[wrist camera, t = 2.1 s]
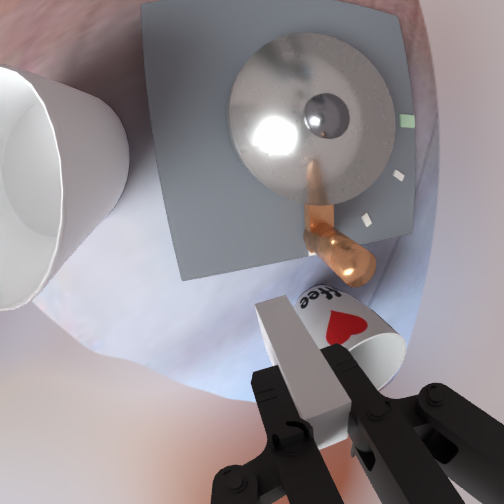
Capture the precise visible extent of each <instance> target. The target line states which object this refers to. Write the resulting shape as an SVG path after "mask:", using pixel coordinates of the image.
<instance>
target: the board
mask: <svg viewBox="0 0 504 504" xmlns="http://www.w3.org/2000/svg"><path fill="white" fill-rule="evenodd" d="M141 22H142V42H143V56H144V68H145V79H146V88H147V97H148V106H149V114H150V121H151V129H152V135H153V142H154V149H155V155H156V161H157V167H158V172H159V178H160V183H161V189H162V194H163V199H164V204H165V209H166V214H167V219H168V223H169V228H170V233H171V237H172V241H173V246H174V250H175V254H176V258H177V263H178V267H179V271H180V275H181V278H182V281H187V280H192V279H197V278H202V277H207V276H212V275H218V274H223V273H228V272H233V271H238V270H243V269H248V268H253V267H258V266H263V265H268V264H273V263H278V262H282V261H287V260H292V259H297V258H302V257H307V256H312V255H316V254H315V253H314V252H313V253H310V252H309V251H308V250H307V249H306V244H305V242H304V239H303V233H304V230H305V215H304V204H302V203H298V202H295V201H292V200H289V199H287V198H285V197H283V196H281V195H279V194H277V193H276V192H274V191H272V190H271V189H269V188H268V187H266V186H265V185H263V184H262V183H260V182H259V181H258V180H257V179H255V178H254V177H253V176H252V175H251V174H250V173H249V172H248V171H247V170H246V169H245V167H244V166H243V165H242V163H241V162H240V160H239V159H238V157H237V156H236V154H235V152H234V150H233V148H232V145H231V142H230V139H229V137H228V132H227V127H226V114H225V113H226V102H227V98H228V94H229V90H230V88H231V85H232V83H233V81H234V79H235V77H236V76H237V74H238V73H239V71H240V70H241V69H242V67H243V66H244V65H245V63H246V62H247V61H248V60H249V59H250V57H251V56H252V55H253V54H254V53H255V52H256V51H258V50H259V49H260V48H261V47H263V46H264V45H266V44H267V43H269V42H271V41H273V40H275V39H277V38H280V37H283V36H286V35H290V34H296V33H316V34H323V35H327V36H330V37H334V38H336V39H339V40H341V41H343V42H345V43H347V44H349V45H350V46H352V47H354V48H355V49H357V50H358V51H359V52H360V53H362V54H363V55H364V56H365V57H366V58H367V59H368V60H369V61H370V62H371V63H372V64H373V65H374V67H375V68H376V69H377V70H378V72H379V73H380V75H381V76H382V78H383V80H384V82H385V84H386V86H387V88H388V90H389V93H390V95H391V98H392V102H393V106H394V112H395V124H396V130H395V139H394V144H393V149H392V152H391V155H390V158H389V160H388V162H387V164H386V166H385V168H384V169H383V171H382V173H381V174H380V176H379V177H378V178H377V179H376V180H375V182H374V183H373V184H372V185H371V186H370V187H368V188H367V189H366V190H365V191H363V192H362V193H361V194H359V195H357V196H356V197H354V198H352V199H350V200H347V201H344V202H342V203H338V204H334V228H336V229H337V230H339V231H340V232H342V233H343V234H345V235H346V236H348V237H349V238H350V239H352V240H353V241H355V242H356V243H358V244H359V245H363V244H367V243H372V242H376V241H381V240H386V239H390V238H394V237H399V236H403V235H408V234H412V229H413V216H414V200H415V130H414V128H415V119H414V115H413V103H412V93H411V85H410V77H409V71H408V64H407V58H406V53H405V47H404V42H403V38H402V33H401V29H400V24H399V20H398V16H395V15H392V14H388V13H385V12H382V11H378V10H375V9H371V8H367V7H363V6H359V5H355V4H350V3H346V2H341V1H336V0H161V1H156V2H151V3H146V4H141Z"/></svg>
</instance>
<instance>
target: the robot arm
mask: <svg viewBox="0 0 504 504" xmlns="http://www.w3.org/2000/svg"><path fill="white" fill-rule="evenodd" d="M255 308H256V312H257V316H258V320H259V324H260V328H261V332H262V336H263V340H264V344H265V348H266V350H267V353H268V355H269V358H270V360H271V363H272V365H273V366H272V367H269V368H265V369H262V370H259V371H255V372H253V375H252V380H251V385H252V389H253V392H254V395H255V399H256V402H257V405H258V408H259V412H260V415H261V418H262V421H263V424H264V428H265V431H266V434H267V445H266V447H265V449H264V451H263V452H262V453H261V454H260V455H259V456H258V457H256V458H255V459H253V460H251V461H250V462H248V463H246V464H244V465H243V466H241V465H231V466H227V467H225V468H223V469H221V470H220V471H219V472H218V473H217V474H216V475H215V478H214V480H213V485H212V495H211V504H272V503H273V502H275V501H277V500H278V499H280V498H282V497H283V496H285V495H286V494H287V497H288V500H289V503H290V504H344V502H343V500H342V498H341V496H340V494H339V492H338V490H337V488H336V485H335V483H334V481H333V479H332V477H331V475H330V473H329V471H328V468H327V466H326V464H325V462H324V460H323V458H322V455H321V453H320V451H319V449H322V448H325V447H327V446H330V445H332V444H335V443H337V442H339V441H342V440H344V439H346V438H347V434H349V436H350V438H351V440H352V441H353V444H352V448H351V456H352V457H354V456H355V454H356V456H357V458H358V460H359V462H360V464H361V465H362V467H363V469H364V471H365V473H366V475H367V476H368V478H369V480H370V482H371V484H372V486H373V488H374V490H375V491H376V493H377V495H378V497H379V498H380V501H381V502H382V504H465V502H464V501H463V500H462V498H461V496H460V495H459V493H458V492H457V490H456V489H455V488H454V486H453V485H452V483H451V482H450V480H449V479H448V477H449V478H450V479H451V480H452V481H454V482H455V483H456V484H458V485H459V486H460V487H461V488H463V489H464V490H465V491H467V492H468V493H469V494H470V495H472V496H473V497H474V498H476V499H477V500H478V501H480V502H481V503H482V504H504V425H503V424H502V423H500V422H499V421H497V420H496V419H494V418H493V417H491V416H490V415H488V414H487V413H486V412H484V411H483V410H481V409H480V408H478V407H477V406H475V405H474V404H472V403H471V402H470V401H468V400H467V399H465V398H464V397H462V396H461V395H459V394H458V393H456V392H455V391H453V390H452V389H450V388H449V387H448V386H446V385H444V384H441V383H431V384H428V385H426V386H425V387H423V388H422V390H421V391H420V393H419V394H418V395H414V396H410V397H406V398H401V399H391V398H388V397H385V396H383V395H382V394H380V392H379V391H378V390H377V389H376V388H375V386H374V385H373V383H372V382H371V381H370V379H369V378H368V377H367V375H366V374H365V372H364V371H363V370H362V368H361V367H360V366H359V364H358V363H357V361H356V360H355V359H354V357H353V356H352V355H351V353H350V352H349V350H348V349H347V348H345V347H343V346H342V345H340V344H338V343H335V344H333V345H330V346H327V347H325V348H322V349H319V348H318V346H317V345H316V343H315V341H314V340H313V338H312V337H311V335H310V333H309V332H308V330H307V329H306V327H305V325H304V324H303V322H302V321H301V319H300V317H299V316H298V314H297V313H296V311H295V309H294V308H293V306H292V305H291V303H290V301H289V300H288V298H287V297H286V295H283V296H280V297H277V298H274V299H270V300H267V301H264V302H260V303H257V304H255Z"/></svg>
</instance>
